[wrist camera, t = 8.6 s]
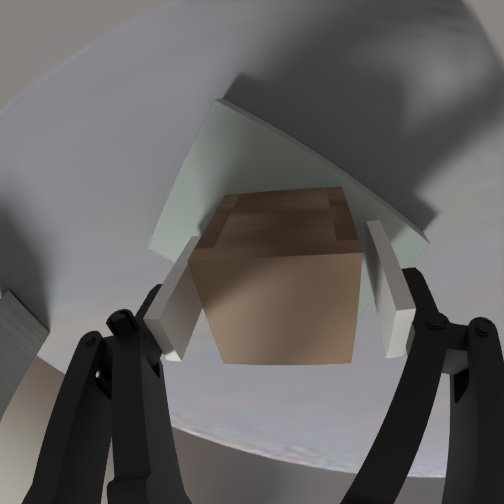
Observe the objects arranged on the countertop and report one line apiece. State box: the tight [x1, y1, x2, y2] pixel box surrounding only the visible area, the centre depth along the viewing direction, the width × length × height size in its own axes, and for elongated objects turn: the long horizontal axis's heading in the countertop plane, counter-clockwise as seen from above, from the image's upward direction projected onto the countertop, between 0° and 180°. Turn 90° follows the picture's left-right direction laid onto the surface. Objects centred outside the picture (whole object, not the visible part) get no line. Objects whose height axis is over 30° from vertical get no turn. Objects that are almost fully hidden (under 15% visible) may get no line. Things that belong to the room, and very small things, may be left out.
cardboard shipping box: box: [187, 187, 362, 365], centre depth 14 cm, size 6×6×6 cm
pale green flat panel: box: [148, 98, 430, 316], centre depth 15 cm, size 14×10×6 cm
